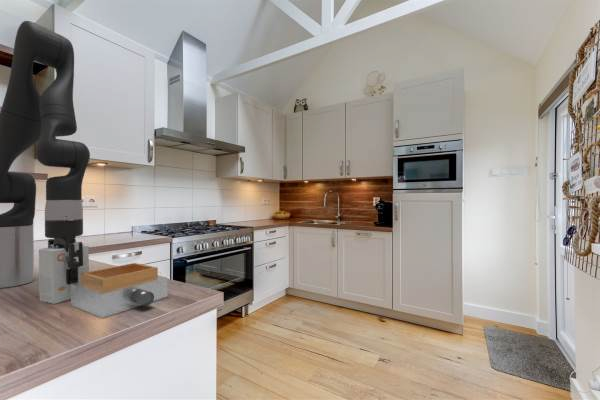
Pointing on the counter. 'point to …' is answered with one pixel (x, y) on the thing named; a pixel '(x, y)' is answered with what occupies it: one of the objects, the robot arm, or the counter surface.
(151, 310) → the counter surface
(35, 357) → the counter surface
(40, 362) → the counter surface
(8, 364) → the counter surface
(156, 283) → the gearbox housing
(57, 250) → the small box
